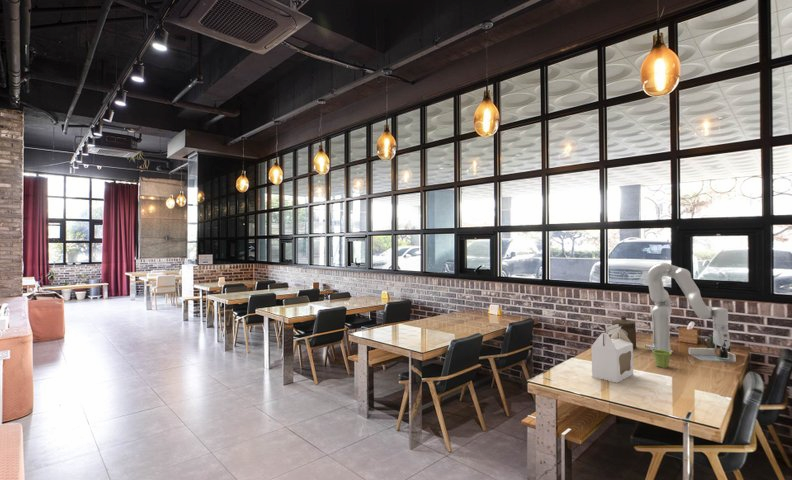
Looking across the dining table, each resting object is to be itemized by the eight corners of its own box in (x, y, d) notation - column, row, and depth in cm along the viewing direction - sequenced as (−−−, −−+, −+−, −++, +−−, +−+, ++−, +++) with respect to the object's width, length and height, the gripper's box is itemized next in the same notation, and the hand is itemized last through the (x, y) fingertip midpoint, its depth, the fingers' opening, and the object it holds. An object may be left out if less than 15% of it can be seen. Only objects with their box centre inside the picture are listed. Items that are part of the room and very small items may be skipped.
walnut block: (728, 357, 250) (728, 349, 250) (718, 357, 251) (718, 349, 251) (723, 355, 254) (723, 347, 255) (714, 355, 256) (714, 347, 256)
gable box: (616, 383, 213) (615, 330, 214) (591, 377, 223) (590, 326, 224) (633, 374, 227) (632, 324, 228) (609, 369, 237) (608, 321, 238)
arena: (700, 361, 251) (700, 353, 251) (688, 355, 266) (688, 347, 266) (735, 362, 247) (735, 355, 247) (721, 356, 262) (721, 348, 262)
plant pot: (674, 369, 236) (674, 354, 236) (656, 368, 238) (656, 353, 238) (667, 364, 245) (667, 350, 245) (650, 363, 247) (649, 349, 247)
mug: (731, 356, 261) (730, 338, 261) (702, 353, 270) (702, 335, 270) (731, 353, 269) (730, 335, 269) (703, 349, 278) (703, 332, 279)
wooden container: (607, 345, 294) (607, 314, 294) (623, 343, 298) (623, 313, 298) (624, 350, 280) (624, 318, 280) (641, 348, 284) (640, 317, 284)
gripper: (735, 330, 244) (736, 360, 243) (719, 325, 260) (720, 353, 260) (721, 330, 245) (722, 360, 245) (706, 324, 262) (706, 352, 262)
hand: (721, 356), depth 253 cm, fingers closed on walnut block, 5 cm apart
